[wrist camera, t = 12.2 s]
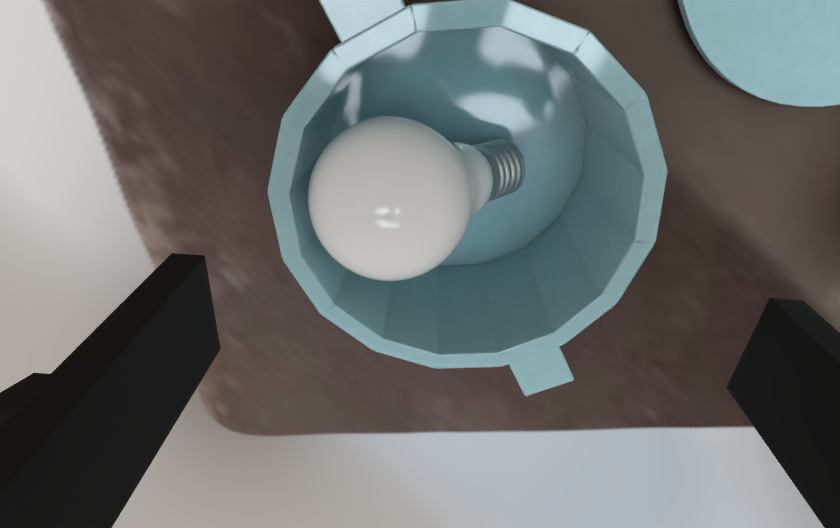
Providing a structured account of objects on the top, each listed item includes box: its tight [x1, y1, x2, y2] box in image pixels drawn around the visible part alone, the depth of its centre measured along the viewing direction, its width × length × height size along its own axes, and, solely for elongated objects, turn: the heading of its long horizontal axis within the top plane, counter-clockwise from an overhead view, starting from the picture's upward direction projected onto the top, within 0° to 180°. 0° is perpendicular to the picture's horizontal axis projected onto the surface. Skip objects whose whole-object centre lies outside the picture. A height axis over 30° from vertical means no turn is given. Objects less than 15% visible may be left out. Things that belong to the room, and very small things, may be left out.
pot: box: [267, 0, 668, 396], centre depth 22 cm, size 14×20×8 cm
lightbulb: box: [308, 116, 525, 281], centre depth 21 cm, size 6×6×11 cm
